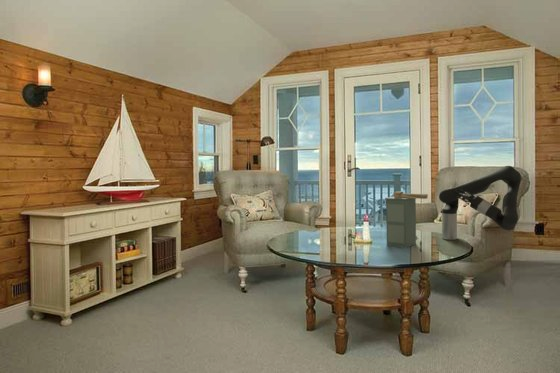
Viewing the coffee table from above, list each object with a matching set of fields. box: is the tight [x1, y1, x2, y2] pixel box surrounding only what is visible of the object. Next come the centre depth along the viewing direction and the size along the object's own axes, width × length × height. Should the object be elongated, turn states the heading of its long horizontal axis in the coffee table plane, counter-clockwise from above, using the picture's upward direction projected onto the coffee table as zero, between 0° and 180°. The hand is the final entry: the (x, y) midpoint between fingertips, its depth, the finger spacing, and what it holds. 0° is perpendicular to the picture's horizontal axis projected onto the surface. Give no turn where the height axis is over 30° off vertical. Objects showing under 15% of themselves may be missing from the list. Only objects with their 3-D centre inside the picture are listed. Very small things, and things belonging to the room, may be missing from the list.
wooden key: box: [393, 191, 429, 200], centre depth 255 cm, size 5×20×4 cm, turn 48°
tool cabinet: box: [384, 196, 418, 249], centre depth 261 cm, size 15×14×30 cm
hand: (455, 190), depth 242 cm, fingers open, 8 cm apart
